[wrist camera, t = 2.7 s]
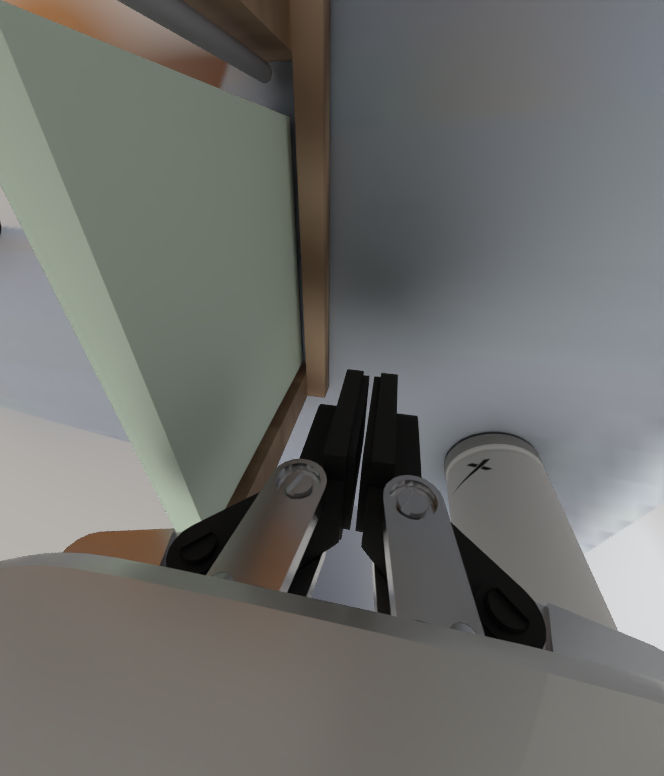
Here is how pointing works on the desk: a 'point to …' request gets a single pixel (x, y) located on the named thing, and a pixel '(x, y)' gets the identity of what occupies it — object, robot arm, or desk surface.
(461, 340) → the desk surface
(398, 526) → the robot arm
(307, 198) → the door frame
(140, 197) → the door
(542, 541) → the travel mug
